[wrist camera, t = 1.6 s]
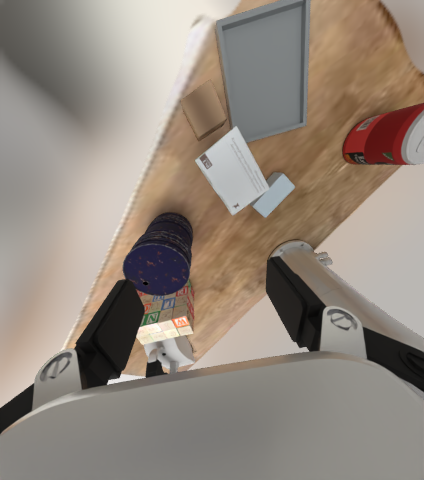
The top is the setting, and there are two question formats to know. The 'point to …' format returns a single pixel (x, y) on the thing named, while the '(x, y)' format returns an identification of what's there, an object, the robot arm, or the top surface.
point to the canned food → (388, 139)
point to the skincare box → (233, 171)
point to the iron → (168, 355)
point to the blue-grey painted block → (273, 194)
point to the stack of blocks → (167, 315)
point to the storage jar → (161, 256)
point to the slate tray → (266, 67)
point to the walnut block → (203, 110)
